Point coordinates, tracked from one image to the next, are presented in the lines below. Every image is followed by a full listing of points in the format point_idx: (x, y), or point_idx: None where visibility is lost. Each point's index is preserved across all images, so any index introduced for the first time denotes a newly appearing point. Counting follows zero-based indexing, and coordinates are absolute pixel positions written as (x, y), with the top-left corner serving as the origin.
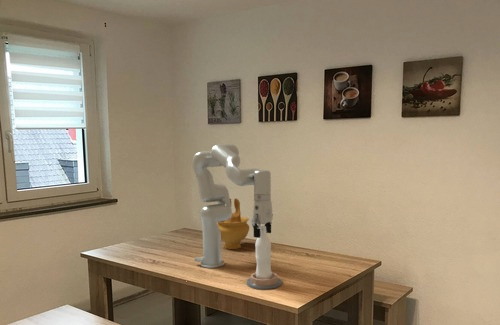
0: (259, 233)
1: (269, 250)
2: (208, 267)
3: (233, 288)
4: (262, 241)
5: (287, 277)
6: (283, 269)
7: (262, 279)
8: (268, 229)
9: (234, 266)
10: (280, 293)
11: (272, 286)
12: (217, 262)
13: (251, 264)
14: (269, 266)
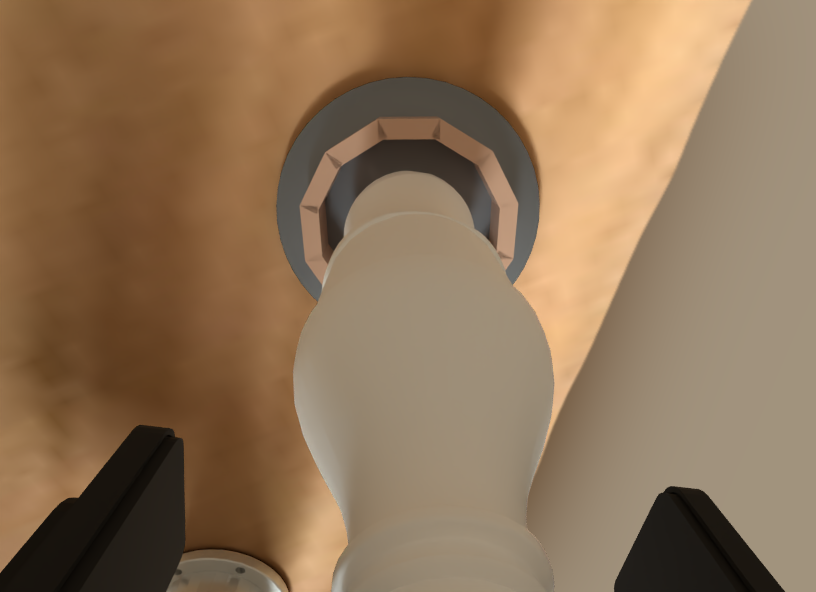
0: (764, 582)
1: (449, 240)
2: (287, 589)
3: (553, 358)
4: (547, 400)
5: (214, 83)
6: (50, 181)
7: (501, 212)
8: (142, 547)
9: (188, 494)
10: (579, 20)
11: (503, 118)
12: (232, 585)
13: (92, 426)
14: (424, 198)
